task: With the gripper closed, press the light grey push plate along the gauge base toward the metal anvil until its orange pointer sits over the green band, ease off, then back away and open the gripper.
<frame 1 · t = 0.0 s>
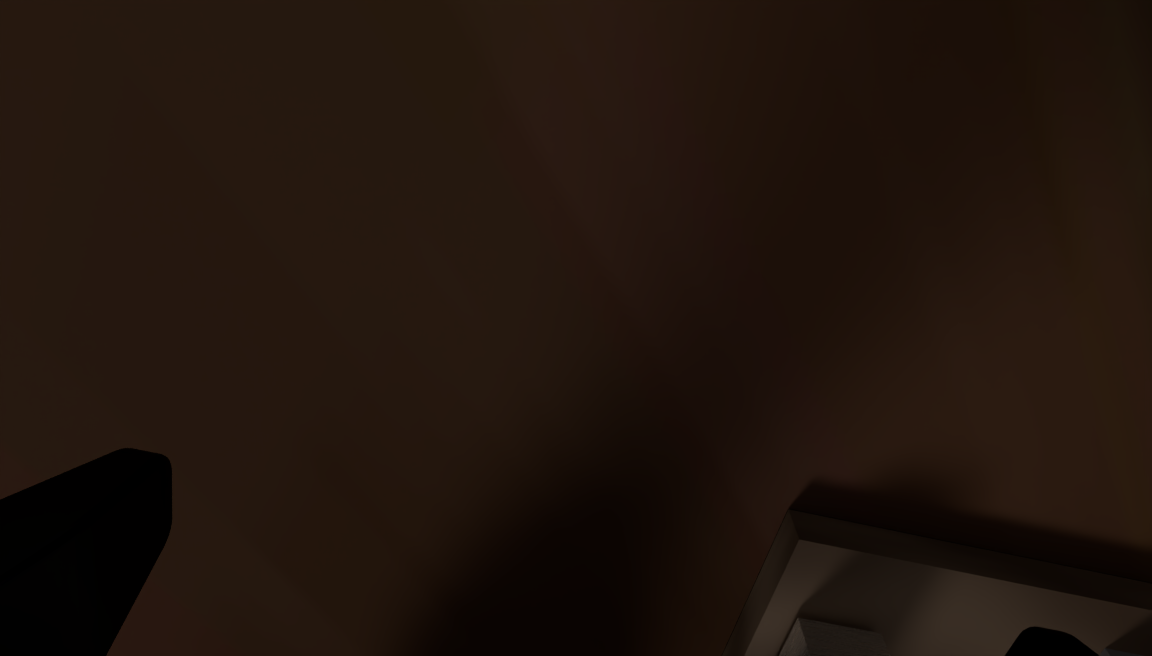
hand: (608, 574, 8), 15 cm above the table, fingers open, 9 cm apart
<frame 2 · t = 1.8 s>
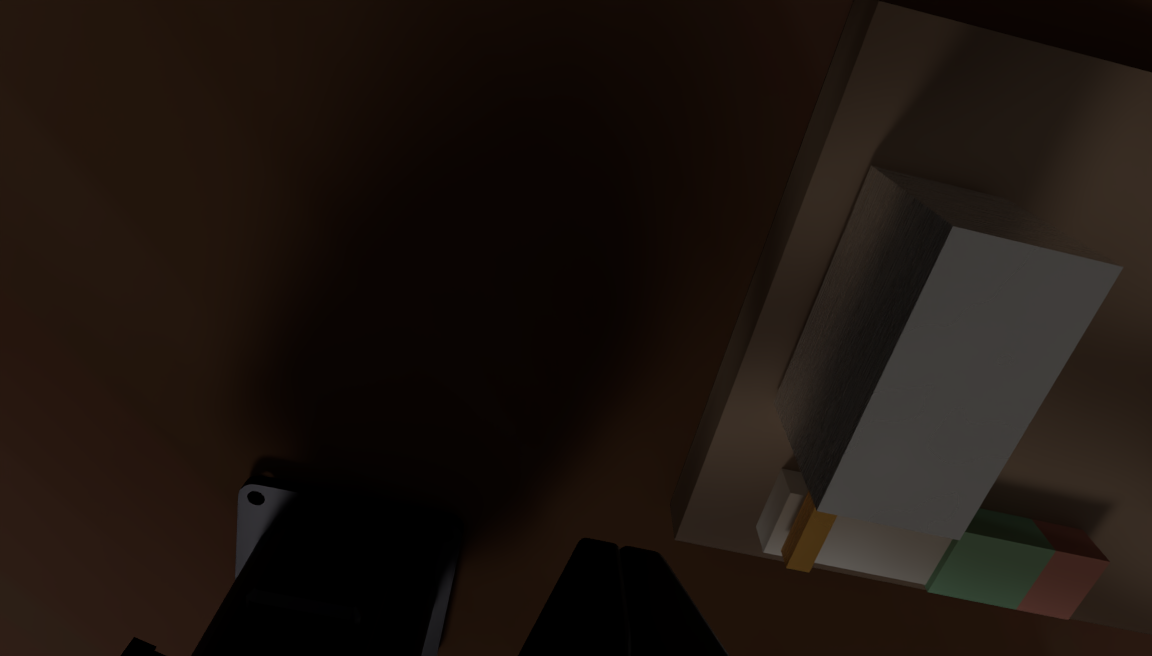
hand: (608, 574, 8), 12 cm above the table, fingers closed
push plate: (879, 418, 16), point 4 cm above the table, slide at 0.0 cm
gauge base: (1039, 358, 20), on the table
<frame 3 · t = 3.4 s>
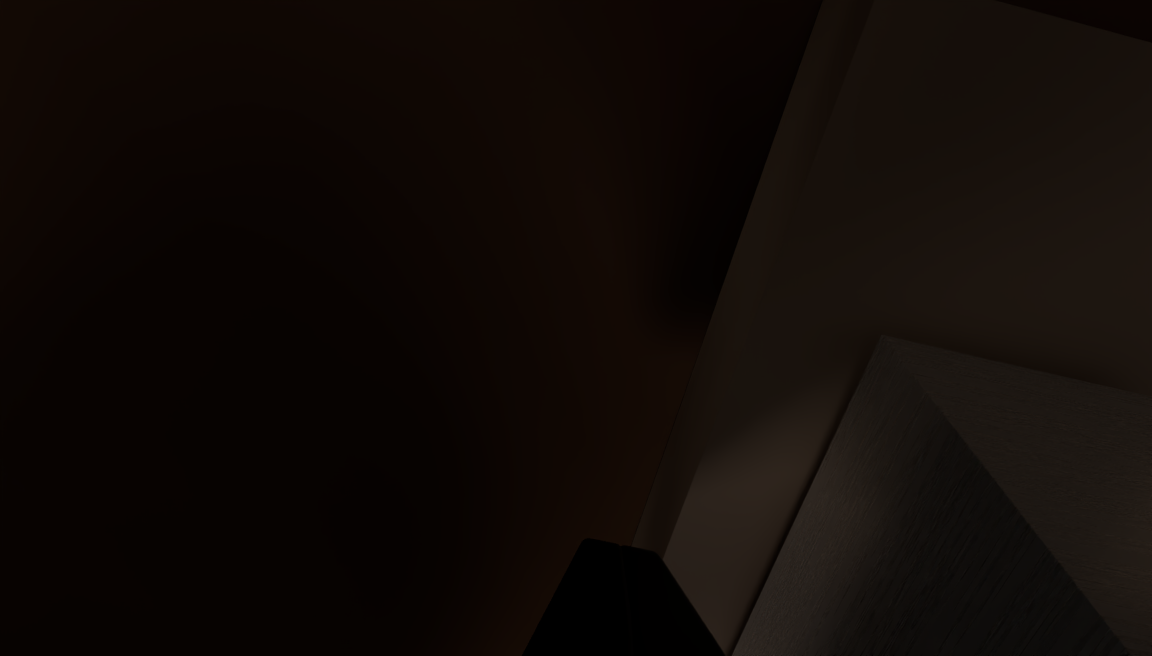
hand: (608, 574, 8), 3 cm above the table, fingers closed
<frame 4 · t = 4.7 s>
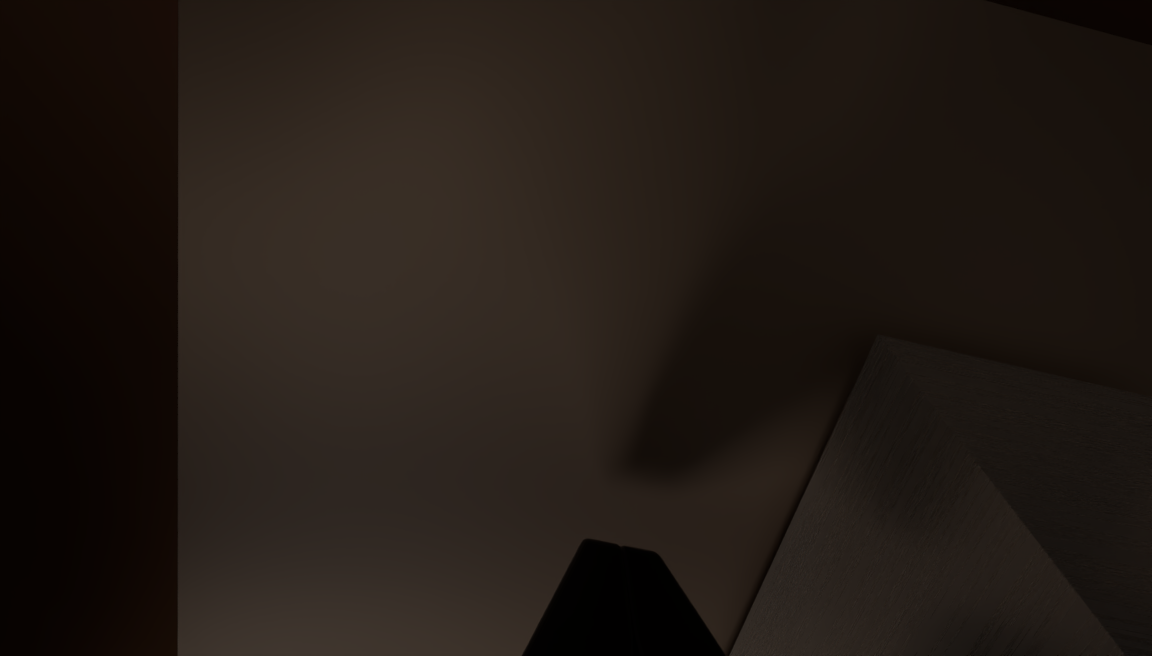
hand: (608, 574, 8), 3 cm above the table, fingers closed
gauge base: (797, 538, 11), on the table
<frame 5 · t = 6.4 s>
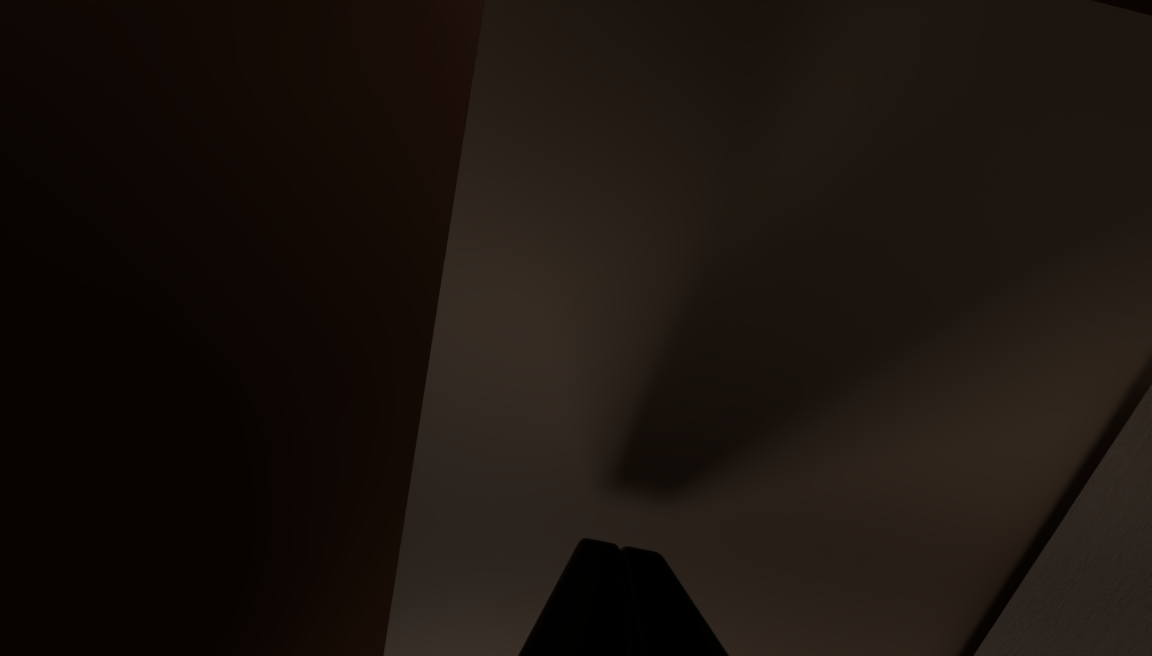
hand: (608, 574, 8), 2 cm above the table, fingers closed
gauge base: (982, 570, 11), on the table
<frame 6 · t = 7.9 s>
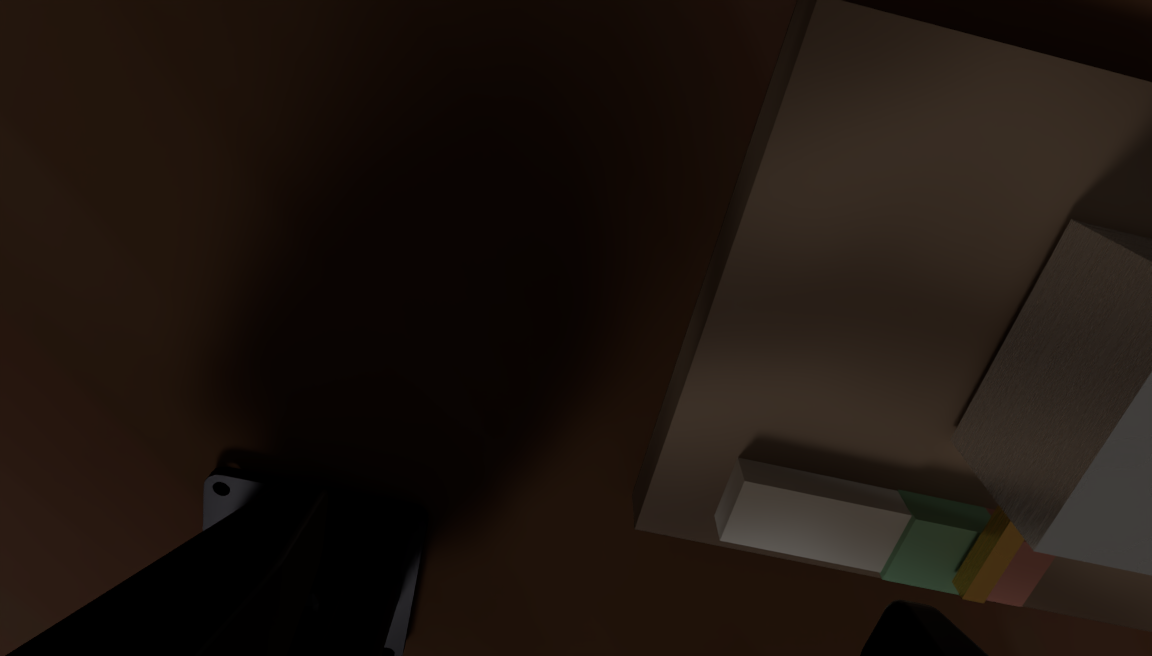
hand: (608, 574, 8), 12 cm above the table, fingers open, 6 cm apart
push plate: (1075, 459, 17), point 4 cm above the table, slide at 5.9 cm
gauge base: (992, 348, 20), on the table
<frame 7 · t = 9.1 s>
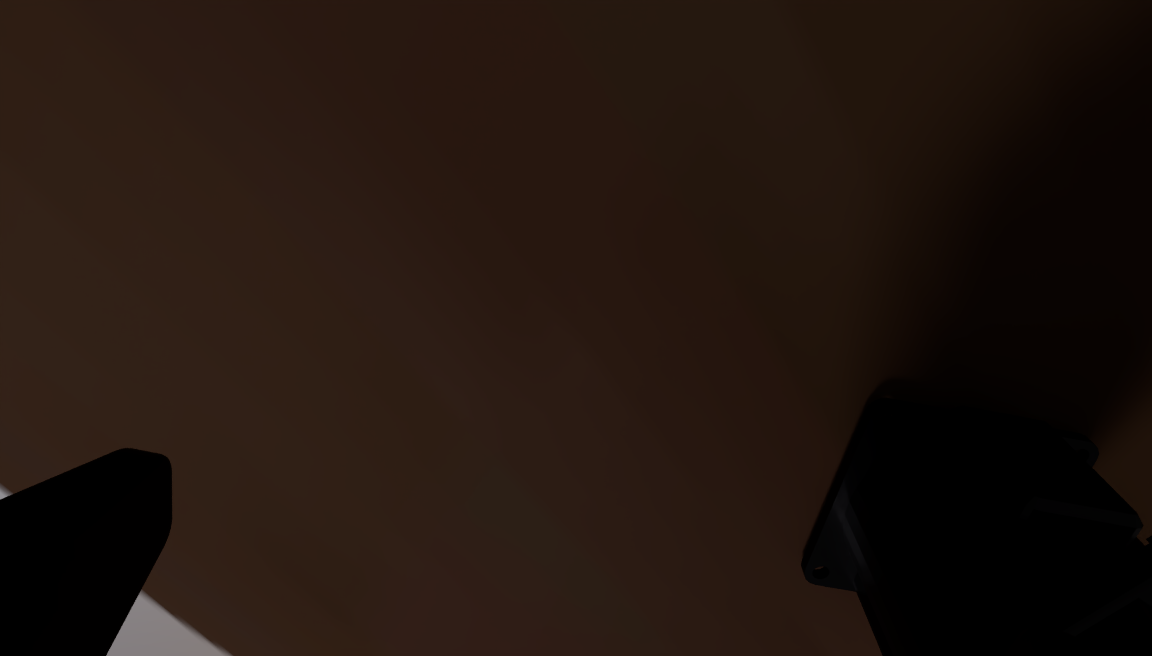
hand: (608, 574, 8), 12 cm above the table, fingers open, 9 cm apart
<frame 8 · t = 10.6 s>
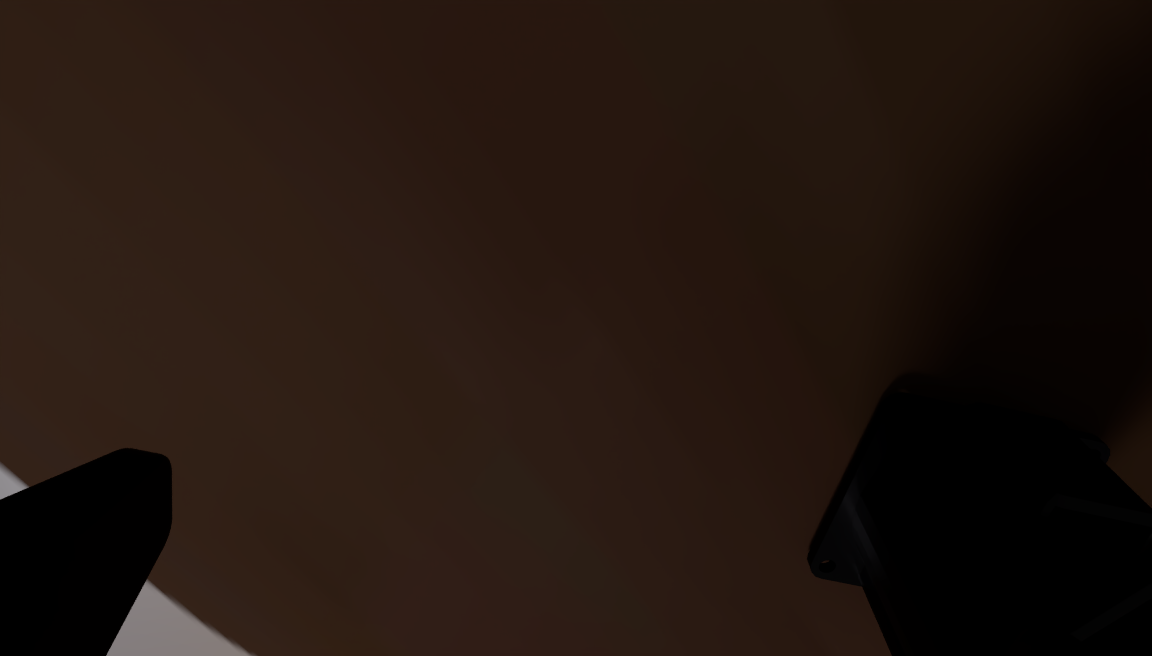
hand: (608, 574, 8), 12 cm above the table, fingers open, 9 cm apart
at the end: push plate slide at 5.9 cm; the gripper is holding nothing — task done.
